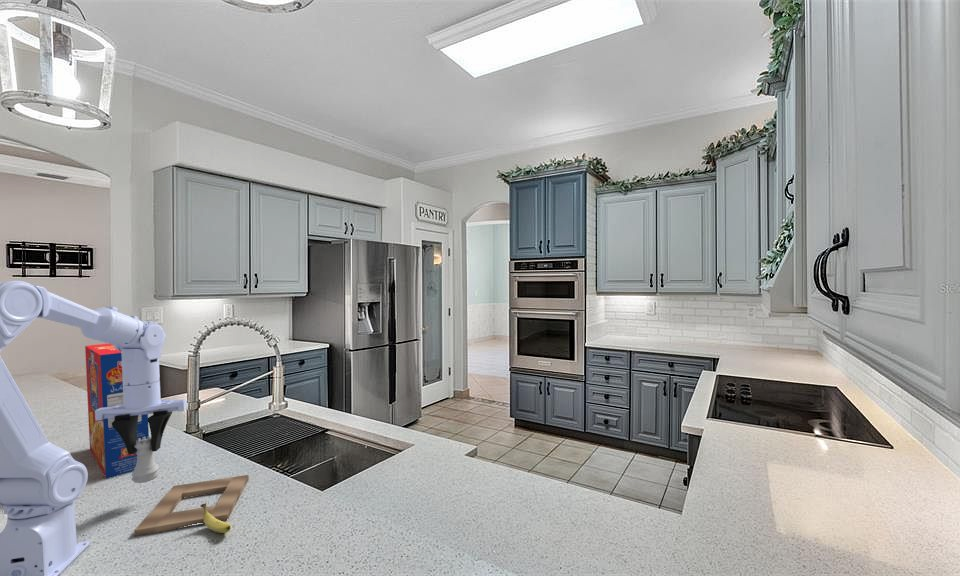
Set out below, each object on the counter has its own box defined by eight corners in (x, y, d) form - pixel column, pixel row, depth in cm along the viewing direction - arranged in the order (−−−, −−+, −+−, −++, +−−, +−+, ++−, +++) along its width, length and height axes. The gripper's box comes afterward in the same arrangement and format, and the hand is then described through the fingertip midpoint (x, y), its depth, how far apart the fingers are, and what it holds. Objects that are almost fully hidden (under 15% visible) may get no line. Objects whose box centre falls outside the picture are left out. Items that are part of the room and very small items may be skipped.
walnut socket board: (227, 519, 77) (227, 514, 77) (134, 536, 72) (134, 530, 72) (248, 479, 93) (248, 474, 93) (173, 490, 89) (173, 485, 89)
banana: (198, 528, 74) (197, 505, 74) (208, 523, 76) (207, 500, 76) (225, 540, 70) (224, 516, 70) (235, 534, 72) (234, 511, 72)
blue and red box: (89, 449, 114) (85, 345, 114) (128, 440, 120) (123, 342, 120) (105, 478, 96) (100, 355, 95) (150, 466, 102) (145, 350, 101)
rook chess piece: (142, 485, 82) (140, 445, 81) (125, 481, 83) (123, 442, 82) (165, 474, 86) (163, 435, 86) (148, 470, 87) (147, 432, 87)
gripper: (191, 374, 90) (193, 438, 90) (107, 381, 85) (110, 449, 86) (178, 381, 83) (181, 451, 83) (87, 389, 79) (90, 463, 79)
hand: (144, 451), depth 84 cm, fingers closed on rook chess piece, 3 cm apart
